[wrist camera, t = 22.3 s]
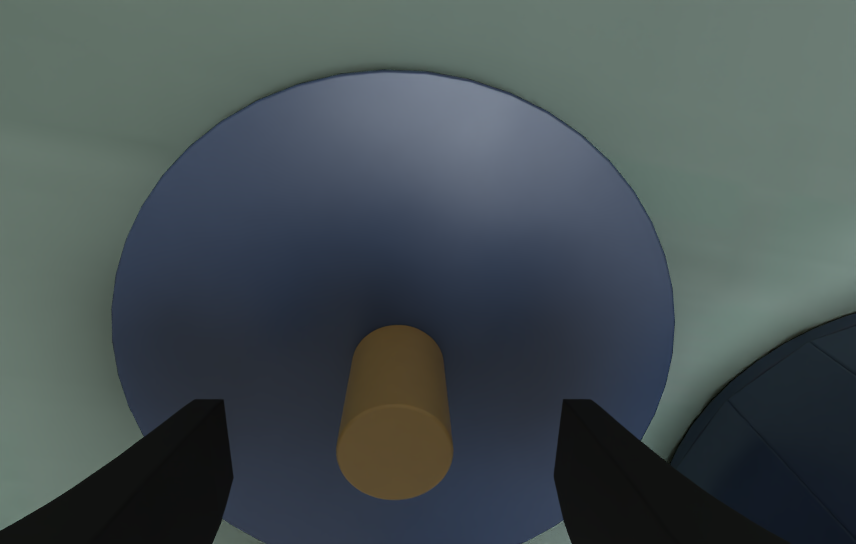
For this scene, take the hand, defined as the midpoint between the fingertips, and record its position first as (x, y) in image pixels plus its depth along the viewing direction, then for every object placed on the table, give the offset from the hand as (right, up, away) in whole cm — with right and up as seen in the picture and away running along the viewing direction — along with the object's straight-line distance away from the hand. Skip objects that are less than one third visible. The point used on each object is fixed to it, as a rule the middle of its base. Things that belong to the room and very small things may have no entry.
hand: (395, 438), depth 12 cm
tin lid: (0, +1, +3) cm, 3 cm away
